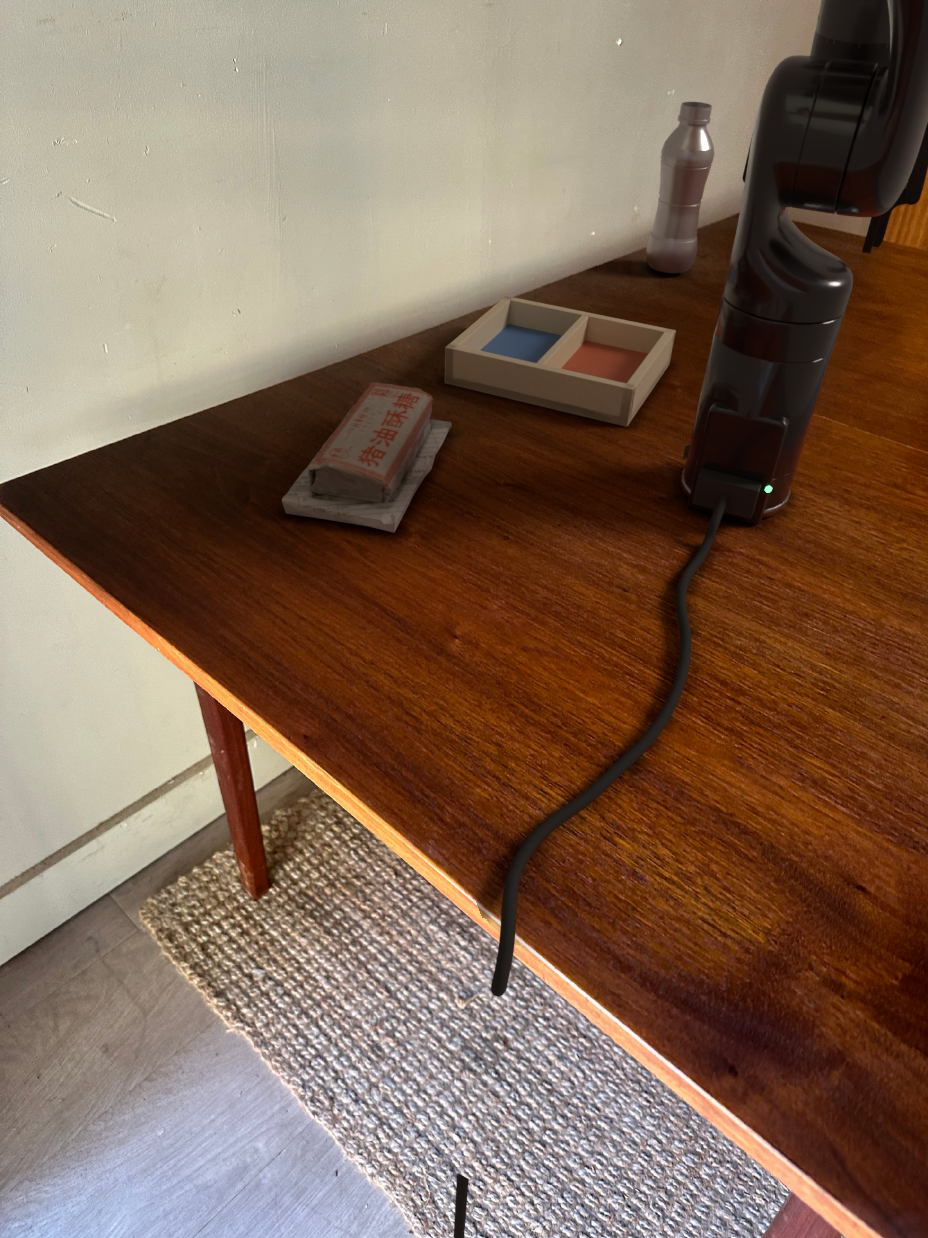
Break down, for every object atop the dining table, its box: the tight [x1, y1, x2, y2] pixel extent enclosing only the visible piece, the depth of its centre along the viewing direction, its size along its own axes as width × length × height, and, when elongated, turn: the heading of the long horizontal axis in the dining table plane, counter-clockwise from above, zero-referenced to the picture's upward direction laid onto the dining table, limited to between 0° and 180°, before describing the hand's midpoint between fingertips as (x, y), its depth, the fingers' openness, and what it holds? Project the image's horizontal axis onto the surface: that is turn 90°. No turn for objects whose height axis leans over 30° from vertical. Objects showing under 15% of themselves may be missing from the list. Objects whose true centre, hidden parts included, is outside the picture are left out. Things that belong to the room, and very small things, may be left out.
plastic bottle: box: [645, 101, 715, 274], centre depth 117 cm, size 6×7×20 cm
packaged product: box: [281, 382, 453, 533], centre depth 80 cm, size 18×5×10 cm
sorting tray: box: [444, 295, 677, 427], centre depth 97 cm, size 16×20×4 cm
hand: (816, 242), depth 80 cm, fingers open, 8 cm apart
